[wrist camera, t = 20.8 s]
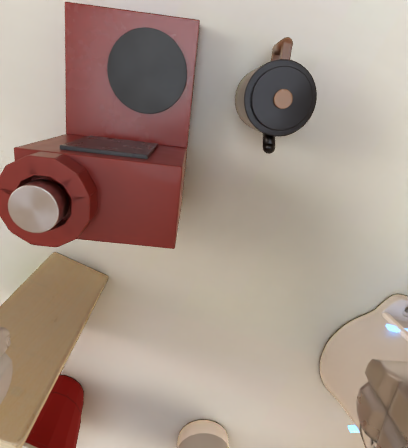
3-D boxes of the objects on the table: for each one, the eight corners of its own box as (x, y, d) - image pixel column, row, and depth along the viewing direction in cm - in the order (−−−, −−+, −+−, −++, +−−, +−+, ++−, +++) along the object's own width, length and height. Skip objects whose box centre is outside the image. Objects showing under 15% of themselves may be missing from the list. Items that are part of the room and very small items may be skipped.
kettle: (302, 52, 32) (334, 37, 25) (284, 148, 35) (308, 161, 28) (242, 44, 32) (255, 26, 25) (228, 141, 35) (237, 153, 27)
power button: (68, 181, 22) (58, 188, 21) (69, 226, 23) (59, 235, 22) (20, 176, 22) (5, 182, 20) (22, 221, 23) (8, 230, 21)
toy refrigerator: (47, 246, 38) (-114, 402, 18) (110, 274, 40) (23, 448, 20) (23, 302, 41) (-144, 496, 21) (83, 328, 42) (-20, 533, 22)
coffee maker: (187, 144, 35) (181, 171, 22) (181, 202, 37) (173, 259, 24) (70, 131, 34) (-10, 150, 21) (70, 190, 36) (-2, 242, 23)
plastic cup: (22, 347, 43) (-42, 437, 31) (110, 368, 44) (80, 462, 32) (10, 414, 46) (-51, 516, 35) (93, 431, 47) (59, 536, 36)
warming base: (199, 26, 32) (200, -11, 21) (187, 144, 35) (183, 163, 25) (74, 9, 31) (12, -38, 21) (74, 131, 34) (22, 145, 24)
